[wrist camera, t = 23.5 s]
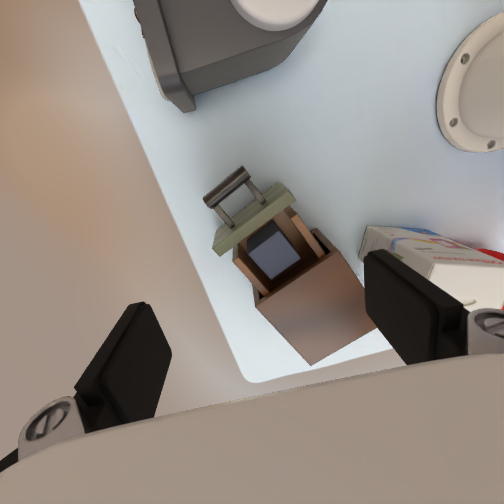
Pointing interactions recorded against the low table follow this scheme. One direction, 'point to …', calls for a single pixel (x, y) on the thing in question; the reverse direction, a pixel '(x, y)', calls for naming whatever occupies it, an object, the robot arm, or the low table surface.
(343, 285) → the cabinet
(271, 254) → the block
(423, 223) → the low table surface
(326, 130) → the low table surface
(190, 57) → the light fixture
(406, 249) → the ink box
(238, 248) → the drawer
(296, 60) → the low table surface
